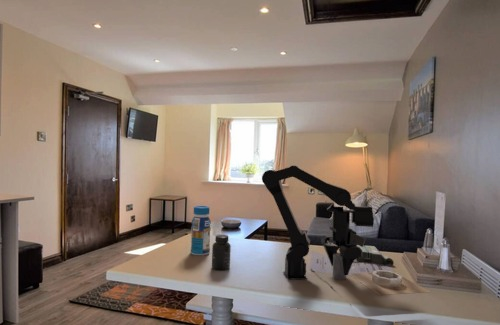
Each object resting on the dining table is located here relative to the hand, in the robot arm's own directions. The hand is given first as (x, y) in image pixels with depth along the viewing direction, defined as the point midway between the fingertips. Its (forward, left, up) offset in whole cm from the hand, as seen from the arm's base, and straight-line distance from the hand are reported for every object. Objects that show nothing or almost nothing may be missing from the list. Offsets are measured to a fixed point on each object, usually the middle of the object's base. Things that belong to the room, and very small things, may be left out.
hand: (339, 270), depth 106 cm
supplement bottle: (-39, +17, -4) cm, 43 cm away
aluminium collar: (+14, -6, -2) cm, 15 cm away
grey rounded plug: (0, 0, -4) cm, 4 cm away
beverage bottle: (-46, +37, -4) cm, 59 cm away
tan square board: (+14, -6, -4) cm, 16 cm away
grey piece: (+23, +22, -4) cm, 32 cm away
